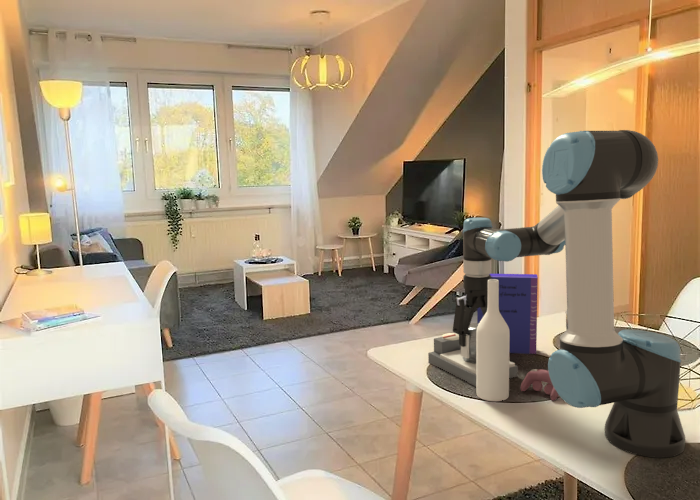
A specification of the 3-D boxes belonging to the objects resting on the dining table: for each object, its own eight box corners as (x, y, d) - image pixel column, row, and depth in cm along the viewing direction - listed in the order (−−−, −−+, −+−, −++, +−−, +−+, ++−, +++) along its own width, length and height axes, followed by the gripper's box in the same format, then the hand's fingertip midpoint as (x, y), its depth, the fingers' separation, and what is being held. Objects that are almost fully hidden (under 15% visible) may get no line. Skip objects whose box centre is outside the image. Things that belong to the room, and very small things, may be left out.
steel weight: (490, 364, 157) (490, 332, 156) (461, 362, 159) (460, 330, 158) (492, 354, 165) (492, 323, 163) (464, 352, 167) (464, 322, 165)
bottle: (488, 404, 142) (489, 285, 137) (470, 392, 149) (469, 278, 144) (515, 398, 145) (517, 281, 140) (496, 386, 152) (496, 275, 147)
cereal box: (535, 349, 179) (536, 273, 175) (536, 354, 175) (537, 277, 171) (477, 346, 184) (477, 272, 180) (477, 351, 179) (477, 276, 175)
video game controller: (561, 403, 144) (568, 376, 145) (553, 401, 141) (560, 373, 142) (525, 392, 152) (532, 366, 153) (517, 390, 148) (524, 363, 150)
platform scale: (517, 376, 158) (517, 349, 157) (477, 387, 152) (477, 359, 151) (464, 352, 178) (464, 328, 177) (426, 361, 172) (426, 336, 171)
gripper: (496, 267, 166) (496, 343, 170) (438, 276, 156) (439, 357, 160) (515, 271, 159) (514, 350, 163) (455, 281, 150) (456, 365, 154)
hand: (477, 353), depth 162 cm, fingers closed on steel weight, 8 cm apart
